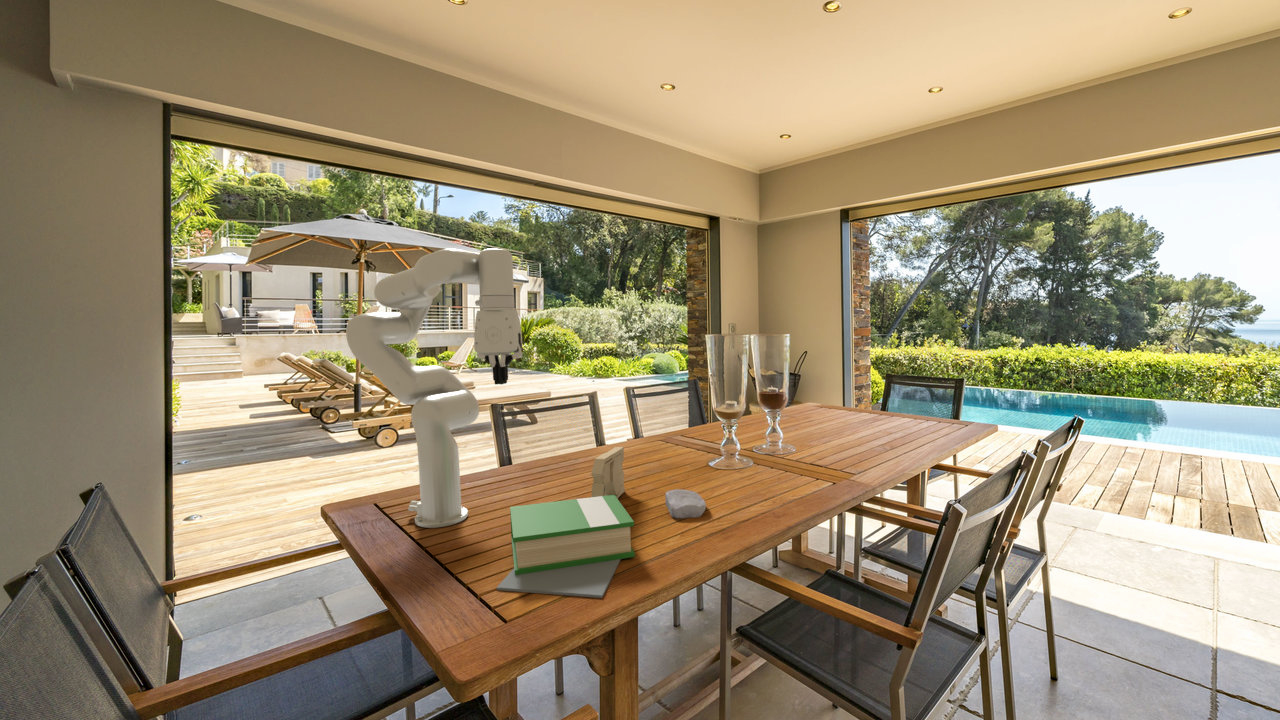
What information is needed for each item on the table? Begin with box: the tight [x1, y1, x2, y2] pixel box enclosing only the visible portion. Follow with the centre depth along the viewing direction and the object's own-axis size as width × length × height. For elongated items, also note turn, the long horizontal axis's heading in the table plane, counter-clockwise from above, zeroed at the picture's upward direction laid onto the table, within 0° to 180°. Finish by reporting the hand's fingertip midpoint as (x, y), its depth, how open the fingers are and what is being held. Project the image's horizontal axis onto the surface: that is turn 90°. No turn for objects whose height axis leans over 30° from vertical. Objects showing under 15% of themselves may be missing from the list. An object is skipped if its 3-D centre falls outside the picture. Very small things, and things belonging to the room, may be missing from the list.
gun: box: [590, 446, 626, 500], centre depth 137 cm, size 24×3×15 cm, turn 168°
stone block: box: [664, 489, 707, 520], centre depth 133 cm, size 12×5×10 cm
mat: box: [496, 559, 622, 599], centre depth 104 cm, size 20×22×1 cm
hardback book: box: [509, 495, 636, 575], centre depth 111 cm, size 18×7×24 cm
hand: (500, 383), depth 120 cm, fingers closed
